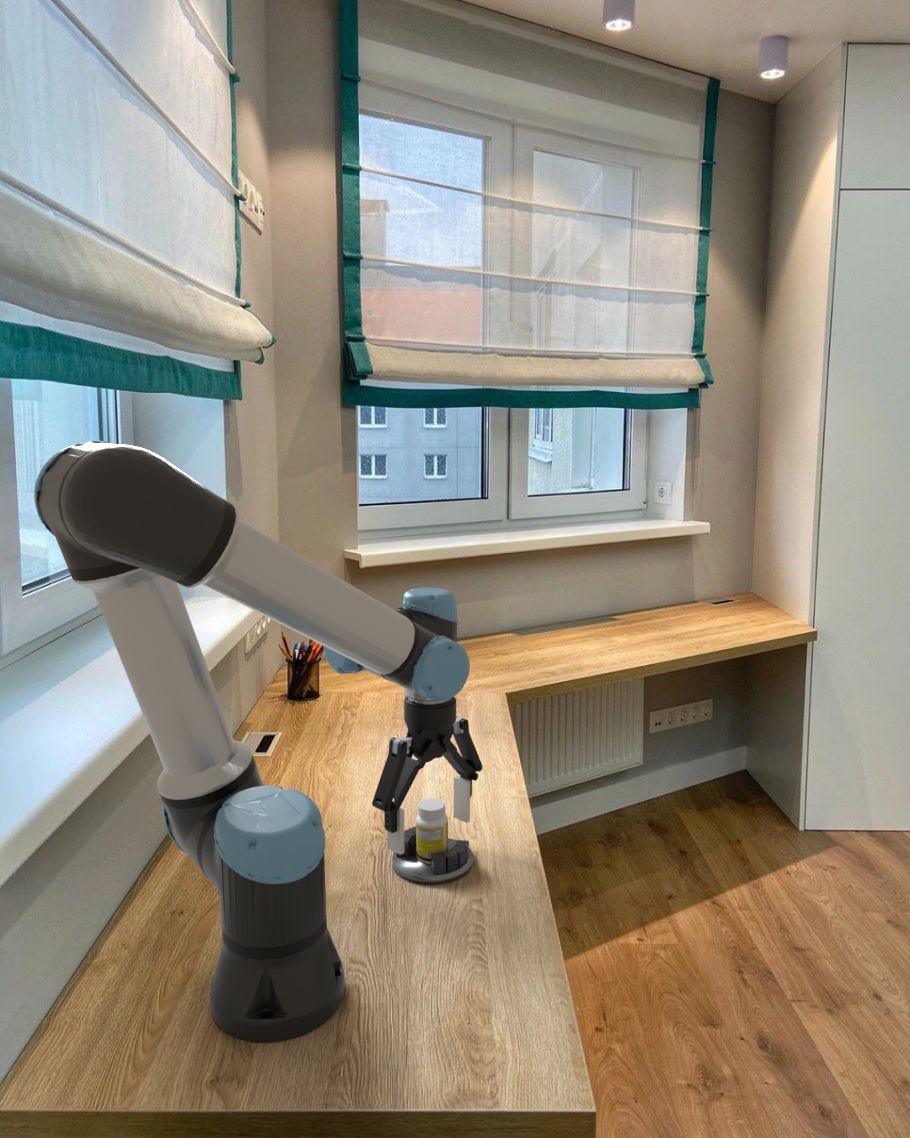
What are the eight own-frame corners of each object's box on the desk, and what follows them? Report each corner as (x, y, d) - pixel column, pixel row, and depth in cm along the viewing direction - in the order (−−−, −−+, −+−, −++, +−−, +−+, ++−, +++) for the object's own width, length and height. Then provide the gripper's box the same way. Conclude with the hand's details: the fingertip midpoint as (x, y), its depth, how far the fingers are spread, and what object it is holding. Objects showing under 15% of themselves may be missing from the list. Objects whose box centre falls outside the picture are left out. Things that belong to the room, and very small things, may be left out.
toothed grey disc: (432, 894, 120) (432, 871, 120) (375, 863, 129) (375, 842, 128) (489, 861, 129) (489, 839, 128) (433, 834, 137) (432, 814, 136)
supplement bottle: (431, 845, 132) (430, 794, 130) (455, 855, 129) (454, 802, 127) (409, 858, 128) (408, 805, 127) (434, 868, 125) (433, 814, 124)
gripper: (382, 724, 113) (383, 875, 116) (506, 683, 130) (504, 814, 134) (345, 710, 118) (347, 855, 121) (470, 672, 135) (468, 800, 139)
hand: (430, 834), depth 128 cm, fingers open, 13 cm apart
